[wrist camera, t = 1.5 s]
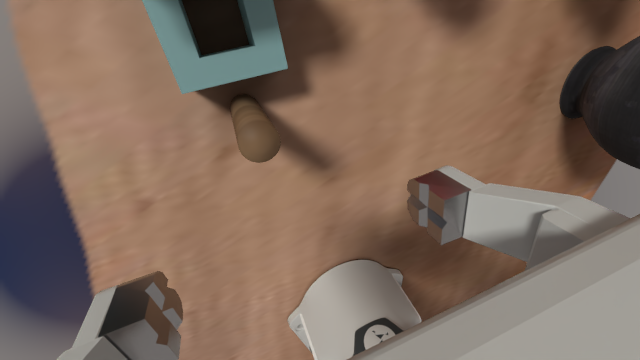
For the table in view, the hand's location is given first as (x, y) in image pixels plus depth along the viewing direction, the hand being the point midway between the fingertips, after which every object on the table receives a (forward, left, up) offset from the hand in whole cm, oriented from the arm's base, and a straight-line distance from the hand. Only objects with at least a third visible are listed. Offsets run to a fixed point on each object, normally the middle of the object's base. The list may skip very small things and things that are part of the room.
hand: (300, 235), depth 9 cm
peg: (0, 0, -20) cm, 20 cm away
